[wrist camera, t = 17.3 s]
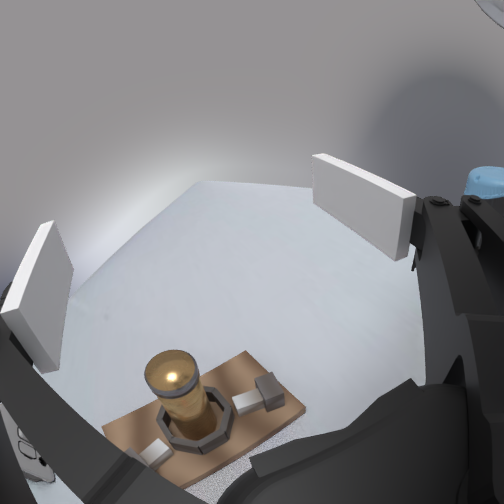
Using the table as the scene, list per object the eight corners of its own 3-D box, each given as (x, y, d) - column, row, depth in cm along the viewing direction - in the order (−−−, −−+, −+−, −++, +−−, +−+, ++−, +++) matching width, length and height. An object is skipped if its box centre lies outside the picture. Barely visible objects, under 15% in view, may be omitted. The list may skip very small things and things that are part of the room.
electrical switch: (56, 483, 27) (9, 455, 22) (32, 490, 25) (-15, 462, 20) (48, 431, 34) (8, 397, 29) (25, 439, 32) (-14, 407, 27)
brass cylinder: (219, 405, 37) (199, 347, 31) (217, 442, 33) (193, 391, 26) (179, 405, 38) (149, 348, 31) (174, 441, 33) (138, 390, 27)
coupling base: (246, 356, 46) (243, 335, 44) (305, 412, 37) (306, 393, 34) (106, 431, 35) (90, 414, 33) (144, 508, 26) (127, 498, 23)
